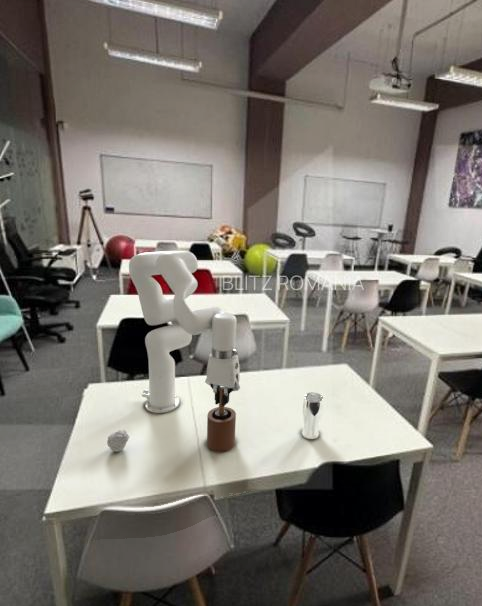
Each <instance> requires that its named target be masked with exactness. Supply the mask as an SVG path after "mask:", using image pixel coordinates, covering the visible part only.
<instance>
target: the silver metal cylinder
mask: <svg viewBox="0 0 482 606" xmlns="http://www.w3.org/2000/svg"><path fill="white" fill-rule="evenodd" d="M323 409H324V397H323V395H321V394H320V393H319V392H307V393H306V394H304V398H303V404H302V417H303V428H302V431H301V435H302V437H303V438H305V439H307V440H315V439H317V438H318V437H319V434H320V433H319V425H320V421H321V418H322V414H323Z"/></svg>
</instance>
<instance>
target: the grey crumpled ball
mask: <svg viewBox="0 0 482 606" xmlns="http://www.w3.org/2000/svg"><path fill="white" fill-rule="evenodd" d="M129 439H130V434H129V433H127V430H125V429H123V430H120V429H119V430H118V431H114V432H112V433H110V435H108V437H107V440H106V443H107V447H109V449H110V450H111V451H112V452H114V453H115V452H116V453H117V452H121V451H123V449H125V447H126V446H127V443H128V441H129Z"/></svg>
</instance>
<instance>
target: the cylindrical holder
mask: <svg viewBox="0 0 482 606" xmlns="http://www.w3.org/2000/svg"><path fill="white" fill-rule="evenodd" d="M217 410H219V406H217V407H214V408H212V409H210V410H209V411H208V413H207V417H206V418H207V420H206V421H207V423H206V446H207V448H208V449H209V450H211V451H213V452H216V453H217V452H218V453H222V452H223V453H224V452H227V451H230V450H231V449H232V448H233V447H234V446H235V441H236V421H237V413H236V411H235V410H234V409H233V408H231V407H228V406H224V410H226V411H227V419H225V420H217V419H215V412H216V411H217Z"/></svg>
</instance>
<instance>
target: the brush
mask: <svg viewBox="0 0 482 606" xmlns="http://www.w3.org/2000/svg"><path fill="white" fill-rule="evenodd" d="M223 394H224V387H223V386H221V387H220V388H219V403H218V407H219V410H217V411H216V412H215V419H217V420H225V419H227V411H226V410H224V407H225V406H222V396H223Z"/></svg>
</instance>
